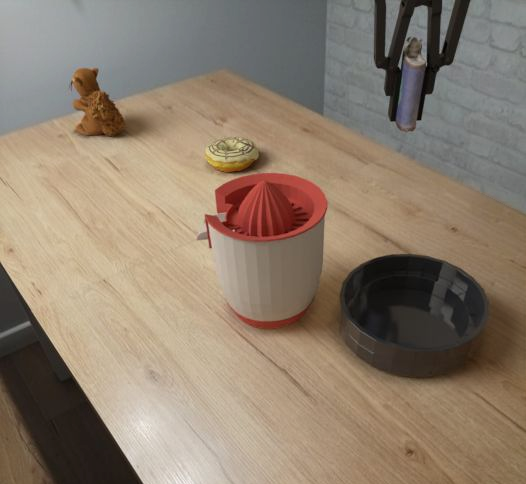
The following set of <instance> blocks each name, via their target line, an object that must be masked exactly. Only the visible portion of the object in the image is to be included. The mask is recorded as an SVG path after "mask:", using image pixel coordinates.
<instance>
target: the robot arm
mask: <svg viewBox="0 0 526 484" xmlns="http://www.w3.org/2000/svg"><path fill="white" fill-rule="evenodd" d="M471 1H472V0H454V3H453V7H452V11H451V14H450V18H449V22H448V25H447V29H446V33H445V37H444V41H443V44H442V49H441V52H440V48H441V47H440V46H441V25H442V22H441V21H442V13H443V0H400V2H399V6H398V15H397V18H396V22H395V25H394V29H393V33H392V38H391V40H390V41H391V42H390V45H389V50H388V53H387V56H386V35H387V34H386V32H387V31H386V30H387V1H386V0H374V3H373V4H374V7H373V8H374V9H373V11H374V12H373V61H374V66H375V68H376V69H378V70H380V69H381V70H383V71H385V75H384V83H383V85H384V86H383V91H384V95H385V97H389V101H388V109H387V115H388V119H389V122H391V123H393V122H395V121H396V114H397V107H398V100H399V92H400V85H401V78H402V73H401V67H400V66H399V64H400V60H401V58H402V54H403V50H404V47H405V42H406V40H407V35H408V30H409V28H410V24H411V19H412V17H413V16H414V12H415V9H416V8H418V7H421V6H422V7H423V6H424V7H426V10H427V22H426V23H427V24H426V27H427V28H426V68H425V72H424V73H425V74H424V79H423V85H422V90H421V96H420V102H419V109H418V115H417V121H416V122H419V121H420V122H421V121H422V119H423V113H424V107H425V101H426V95H427V96H428V95H432V94H433V92H434V89H435V84H436V79H437V74H438V73H439V72H440V69H441V68H442V67H445V66H446V67H447V66H449V67H450V66H451V65H452V64H453V63H454V61H455V57H456V54H457V51H458V46H459V42H460V39H461V35H462V32H463V29H464V25H465V20H466V18H467V15H468V11H469V7H470V3H471ZM395 123H396V122H395Z"/></svg>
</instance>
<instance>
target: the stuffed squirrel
mask: <svg viewBox="0 0 526 484" xmlns="http://www.w3.org/2000/svg"><path fill="white" fill-rule="evenodd" d="M98 74H99V68H98V67H92V68H88V67H81V68H78V69H76V70H75V71H74V72H73V75H72V79H71V80H70V83H69V86H68V91H71V92H72V91H73V88H72V86H73V87H74V89H75V91H76V92H77V93H78V95H79V96H80V98H78V99H73V101H72V108H73V109H74V110H75V111H82V112H83V113H84V115H83V117H82V118H81V119H80V123H78V124H77V125H76V126H75V131H76V132H78V133H79V134H82V135H85V136H97V135H103V134H104V135H105V136H107V137H114V136H115V135H118V134H121V133H122V132H123V131H124V130H125V128H126V127H125V126H126V125H127V123H125V121H124V117H123V115H122V114H121V112H120V110H119V108H117V106H116V104H115V102H114V100H112V99H110V93H107V92H106V91H104V90H102V91H101V88H100V85H99V82H98V80H97V78H98Z"/></svg>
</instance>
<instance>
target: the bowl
mask: <svg viewBox="0 0 526 484" xmlns="http://www.w3.org/2000/svg"><path fill="white" fill-rule="evenodd" d="M338 297H339V299H338V310H337V325H338V333H339V334H340V336H341V339H342V340H343V343H344V344H345V346H346V347H347V348H348V349H349V350H350V351H351V352H352V353H353V355H355V356H356V357H357V358H358V359H360V360H362V361H363V362H365V363H366V364H368V365H370V366H371V367H373V368H376V369H378V370H381V371H382V372H386V373H389V374H392V375H397V376H403V377H408V378H409V377H410V378H417V377H418V378H419V377H420V378H421V377H422V378H423V377H434V376H439V375H443V374H446V373H450V372H453V371H454V370H456V369H458V368H459V367H461V366H464V365H465V364H466V362H468V361H469V360H470V358H472V357H473V355H475V353H476V351H477V348H478V347H479V344H480V341H481V339H482V336H483V333H484V330H485V329H486V326H487V322H488V321H489V317H490V301H489V299H488V296H487V294H486V292H485V290H484V288H483V287H482V286H481V284H480V283H479V282H478V281H477V280H476V279H475V277H473V276H472V275H471V274H470V273H468V272H467V271H465V270H463V268H461V267H459V266H457V265H455V264H452V263H450V262H448V261H446V260H444V259H440V258H436V257H433V256H429V255H423V254H415V253H393V254H387V255H382V256H377V257H374V258H372V259H371V258H370V259H369V260H367V261H365V262H362V263H360V264H359V265H358V266H356V267H355V268H354V269H351V270H350V272H349V273H348V274H347V276H346V277H345V278H344V280H343V281H342V283H341V286H340V291H339V296H338Z"/></svg>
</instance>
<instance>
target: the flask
mask: <svg viewBox="0 0 526 484" xmlns="http://www.w3.org/2000/svg"><path fill="white" fill-rule="evenodd" d="M406 42H407V43H405V44H404V46H403V50H402V53H401V62H400V63H401V64H400V70H401V73H402V78H401V85H400V92H399V100H398V107H397V114H396V121H395V124H396V127H397V129H399V131H401V132H403V133H409V132H412V133H413V132H414V131H415V130H416V128H417V122H418V121H417V115H418V109H419V102H420V96H421V90H422V85H423V79H424V74H425V73H424V72H425V68H426V66H427V60H425V59H424V57H423V55H422V50H423V44H422V42H423V39H422V38H421V39H420V40H418V37H415V36H414V37H412V36H409V37H406Z"/></svg>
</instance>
